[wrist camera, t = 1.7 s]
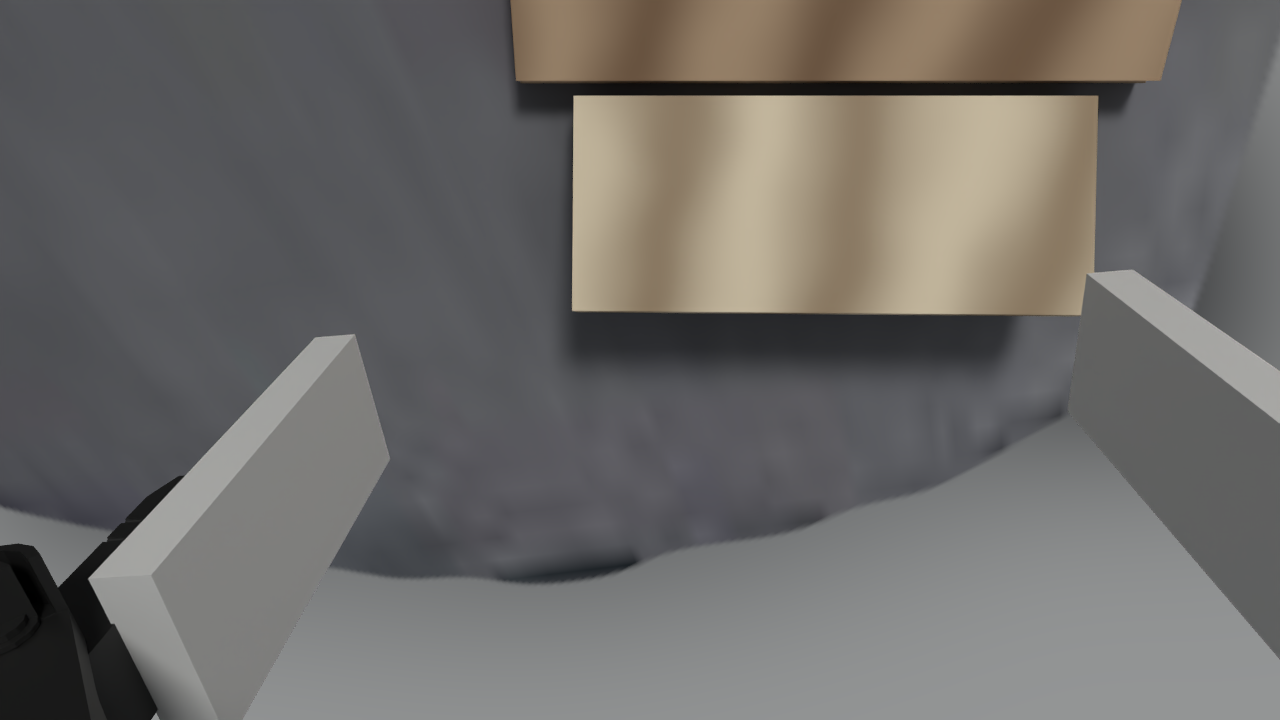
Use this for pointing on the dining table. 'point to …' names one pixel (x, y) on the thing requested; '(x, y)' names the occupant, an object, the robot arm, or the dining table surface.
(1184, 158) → the dining table surface
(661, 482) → the dining table surface
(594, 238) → the plank
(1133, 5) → the floorboard
